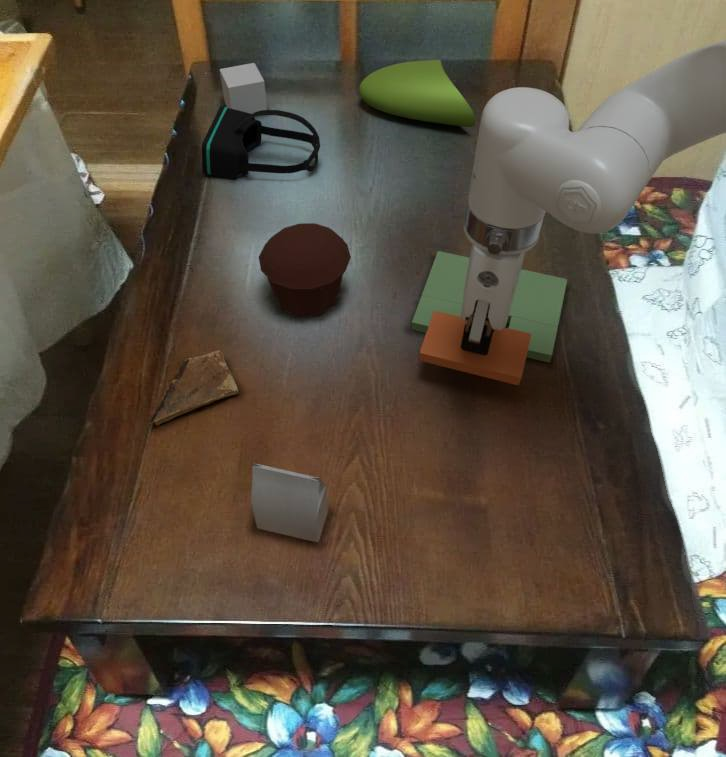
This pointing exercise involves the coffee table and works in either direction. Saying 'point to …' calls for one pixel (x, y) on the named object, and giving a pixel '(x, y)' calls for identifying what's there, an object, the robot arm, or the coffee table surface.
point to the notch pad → (528, 310)
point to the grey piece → (288, 502)
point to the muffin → (305, 268)
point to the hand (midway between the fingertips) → (477, 339)
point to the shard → (196, 386)
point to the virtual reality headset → (249, 143)
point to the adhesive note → (243, 88)
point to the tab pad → (497, 364)
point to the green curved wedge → (417, 93)
